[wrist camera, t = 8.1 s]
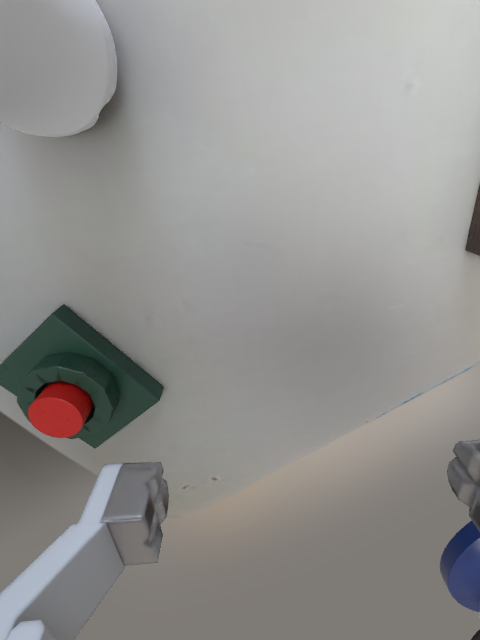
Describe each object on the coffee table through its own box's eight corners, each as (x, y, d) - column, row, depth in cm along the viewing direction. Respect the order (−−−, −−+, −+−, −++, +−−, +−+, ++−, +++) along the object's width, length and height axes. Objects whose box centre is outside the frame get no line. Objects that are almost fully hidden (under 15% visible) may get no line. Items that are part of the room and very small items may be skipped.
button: (102, 403, 24) (93, 420, 22) (72, 427, 25) (61, 445, 23) (61, 372, 22) (48, 388, 21) (31, 399, 23) (16, 416, 22)
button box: (164, 387, 27) (154, 416, 24) (102, 433, 29) (86, 466, 26) (63, 303, 23) (37, 325, 20) (2, 364, 26) (-30, 392, 22)
